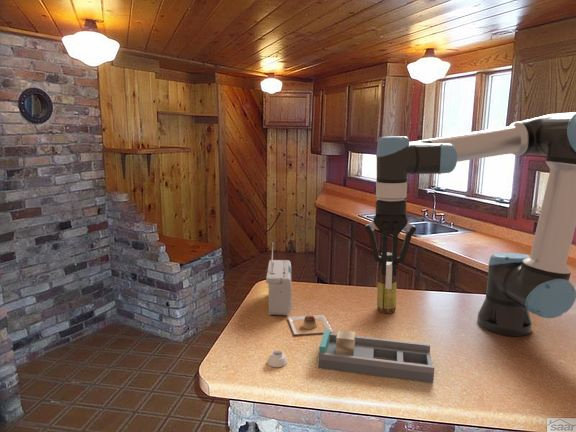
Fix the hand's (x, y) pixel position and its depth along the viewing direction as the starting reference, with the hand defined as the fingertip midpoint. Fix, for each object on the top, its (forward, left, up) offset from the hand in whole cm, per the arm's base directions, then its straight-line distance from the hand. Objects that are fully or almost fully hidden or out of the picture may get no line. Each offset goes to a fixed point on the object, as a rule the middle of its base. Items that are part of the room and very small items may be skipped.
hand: (388, 287), depth 113 cm
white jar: (+27, +11, -20) cm, 35 cm away
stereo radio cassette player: (+36, -26, -20) cm, 49 cm away
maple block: (+10, +5, -17) cm, 20 cm away
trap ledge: (+3, +5, -19) cm, 20 cm away
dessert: (+23, -12, -20) cm, 33 cm away
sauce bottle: (0, -30, -19) cm, 36 cm away
